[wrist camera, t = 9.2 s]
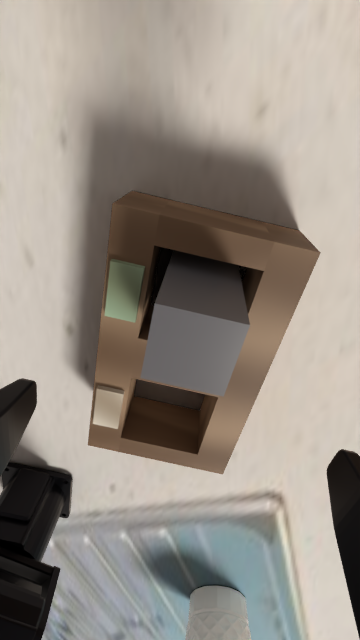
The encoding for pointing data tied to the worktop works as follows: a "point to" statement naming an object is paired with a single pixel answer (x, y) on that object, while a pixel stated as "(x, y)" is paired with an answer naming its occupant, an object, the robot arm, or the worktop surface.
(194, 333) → the plug
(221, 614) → the white cup
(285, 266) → the socket block
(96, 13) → the worktop surface
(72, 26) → the worktop surface
